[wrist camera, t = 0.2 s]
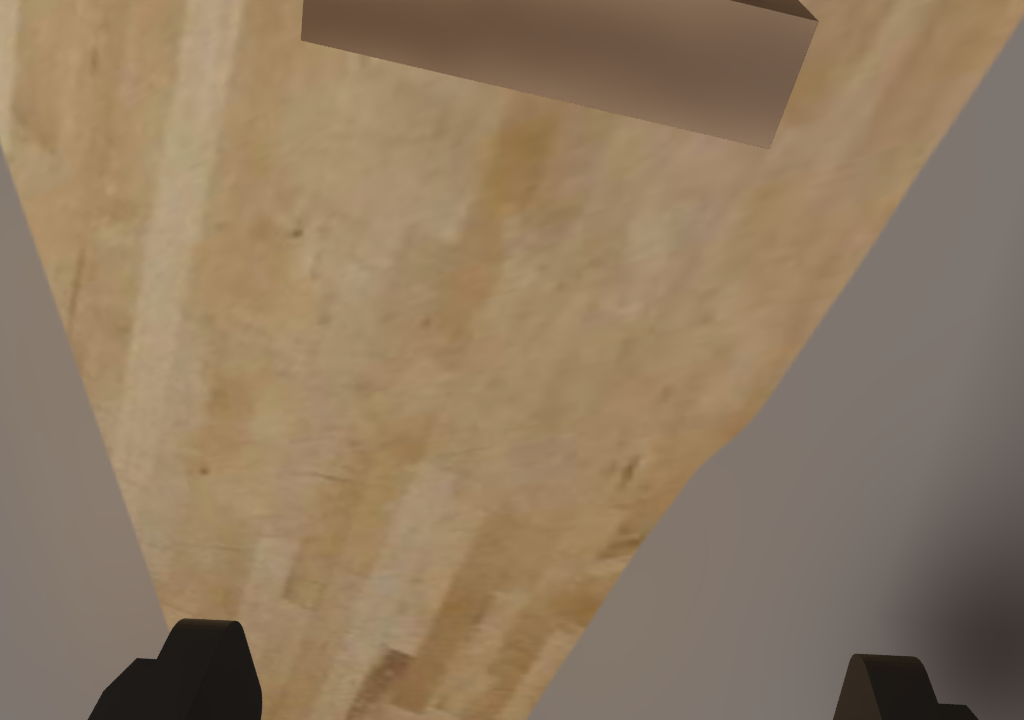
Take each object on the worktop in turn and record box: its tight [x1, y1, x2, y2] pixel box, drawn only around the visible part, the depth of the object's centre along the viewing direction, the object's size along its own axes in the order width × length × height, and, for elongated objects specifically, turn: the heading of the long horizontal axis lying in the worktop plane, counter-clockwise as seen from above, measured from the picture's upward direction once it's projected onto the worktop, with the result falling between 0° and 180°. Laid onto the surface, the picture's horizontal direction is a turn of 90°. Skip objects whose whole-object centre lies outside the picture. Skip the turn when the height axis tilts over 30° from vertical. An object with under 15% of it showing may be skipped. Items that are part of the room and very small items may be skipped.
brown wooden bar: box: [301, 0, 819, 149], centre depth 30 cm, size 4×16×6 cm, turn 78°
